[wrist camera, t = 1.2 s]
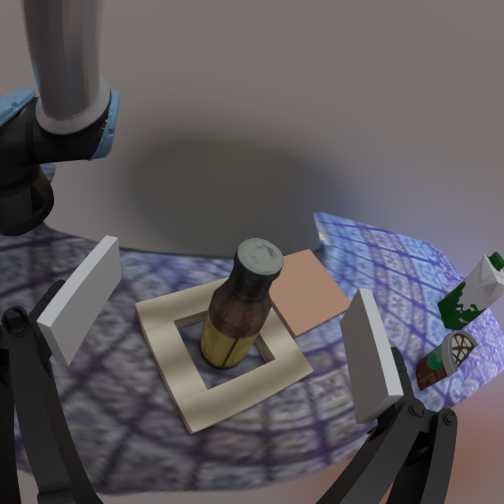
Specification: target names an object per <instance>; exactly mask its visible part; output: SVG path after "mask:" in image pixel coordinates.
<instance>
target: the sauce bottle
mask: <svg viewBox="0 0 504 504" xmlns="http://www.w3.org/2000/svg"><path fill="white" fill-rule="evenodd" d="M283 265H284V258H283V255H282V253H281V252H280V250H279V249H278V248H277V247H276V246H274V245H273V244H271V243H270V242H268V241H266V240H263V239H258V238H253V239H248V240H245V241H244V242H242V243H241V244H240V245H239V247H238V249H237V251H236V254H235V257H234V267H233V270H232V272H231V274H230V276H229V278H228V279H227V280H226V281H225V282H224V283H223V284H222V285H221V286H220V287H218V288H217V289H216V290H215V291H214V293H213V296H212V299H211V302H210V305H209V308H208V312H207V316H206V320H205V324H204V329H203V334H202V338H201V351H202V354H203V356H204V358H205V360H206V361H207V362H208V363H209V364H211V365H212V366H215V367H217V368H220V369H229V368H232V367H234V366H236V365H237V364H239V363H240V362H241V361H242V359H243V358H244V357H245V355H246V354H247V352H248V351H249V349H250V347H251V346H252V344H253V342H254V341H255V339H256V337H257V336H258V334H259V333H260V331H261V329H262V328H263V326H264V323H265V321H266V319H267V317H268V315H269V312H270V309H271V307H272V302H271V299H270V294H269V290H270V287H271V284H272V282H273V281H274V280H275V279H277V278H278V277H279V275H280V273H281V270H282V267H283Z"/></svg>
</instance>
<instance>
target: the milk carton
mask: <svg viewBox="0 0 504 504" xmlns="http://www.w3.org/2000/svg"><path fill="white" fill-rule="evenodd" d="M503 267H504V260H503V259H502V257H501V256H500V255H499V254H498V253H497V252H495V253H494V254H493V255H492V256H491V257H488V256H485V255H484V256H483V257H482V259H481V261H480V262H479V264H478V266H477V267H476V268H475V269H474V270H473V271H472V272H471V273H470V274H469V275H468V276H467V277H466V278H465V279H464V280H463V281H462V282H461V283H460V284H459V285H458V286H457V287H456V288H455V289H454V290H453V291H452V292H451V293H450V294H448V295H447V296H446V297H445V298H444V299H442V300H441V301H440V302H439V303H438V306H439V309H440V312H441V316H442V319H443V322H444V325H445V328H451V329H457V330H461V329H462V328H464V327H465V326H466V325H468V324H469V323H470V322H471V321H473V320H474V319H475V318H476V317H478V316H479V315H480V314H481V313H482V312H483V311H485V310H486V309H487V308H488V307H489V306H490V305H491V304H493V303H494V302H495V301H496V300H497V299H498V298H499V297H500V296H502V295H503V294H504V273H503V271H502V268H503Z"/></svg>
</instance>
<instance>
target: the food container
mask: <svg viewBox="0 0 504 504" xmlns="http://www.w3.org/2000/svg"><path fill="white" fill-rule="evenodd" d="M476 346H478V344H477V342H476V341H475V339H474V338H473V337H472V336H471V335H470V334H469V333H467V332H466V331H463V330H458V331H454V332H452V333H449V334H448V335H446V336H445V338H444V340H443V342H442V344H440V345H439V346H438V347H437V348H436V349H434V350H433V351H432V352H431V353H429V354H428V355H427V356H426V357H424V358H423V359H422V360H421V361H420V362H419V363H418V365H417V369H416V378H417V383H418V386H419V388H420V390H423V389H425V388H427V387H429V386H431V385H433V384H435V383H436V382H438V381H440V380H442V379H444V378H446V377H449V376H451V375H452V374H454V373H455V372H456V371H458V367H459V366H460V365H461V363H462V362H463V361H464V360H465V359H466V358H467V357H468V355H469V354H470V352H471V351H472V350H473V349H474V348H475V347H476Z"/></svg>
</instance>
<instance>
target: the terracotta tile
mask: <svg viewBox="0 0 504 504" xmlns="http://www.w3.org/2000/svg"><path fill="white" fill-rule="evenodd" d="M283 258H284V265H283V267H282V270H281V273H280V275H279V277H278V278H277V279H275V280H274V281H273V282H272V284H271V287H270V290H269V294H270V299H271V302H272V308H273V310H274V311H275V313H276V314H277V316H278V317H279V319H280V320H281V322H282V323H283V325H284V326H285V328H286V329H287V331H288V332H289V334H290V335H291V337H292V338H293V339H295V338H297V337H299V336H301V335H303V334H305V333H307V332H309V331H311V330H312V329H314V328H316V327H318V326H320V325H322V324H324V323H326V322H327V321H329V320H331V319H333V318H335V317H336V316H338V315H340V314H342V313H344V312H345V311H347V309H348V307H349V305H350V304H351V302H350V301H349V299H348V298H347V297H346V295H345V294H344V293H343V291H342V290H341V289H340V288H339V286H338V285H337V284H336V282H335V281H334V280H333V278H332V277H331V276H330V275H329V273H328V272H327V271H326V269H325V268H324V267H323V266H322V264H321V263H320V262H319V261H318V259H317V258H316V257H315V256H314V254H313V253H312V252H311V251H310V249H308V250H305V251H301V252H298V253H294V254H291V255H287V256H284V257H283Z"/></svg>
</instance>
